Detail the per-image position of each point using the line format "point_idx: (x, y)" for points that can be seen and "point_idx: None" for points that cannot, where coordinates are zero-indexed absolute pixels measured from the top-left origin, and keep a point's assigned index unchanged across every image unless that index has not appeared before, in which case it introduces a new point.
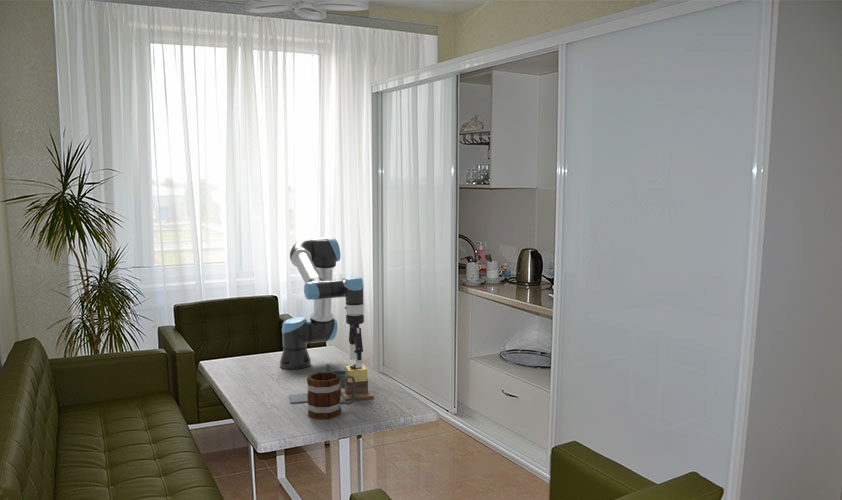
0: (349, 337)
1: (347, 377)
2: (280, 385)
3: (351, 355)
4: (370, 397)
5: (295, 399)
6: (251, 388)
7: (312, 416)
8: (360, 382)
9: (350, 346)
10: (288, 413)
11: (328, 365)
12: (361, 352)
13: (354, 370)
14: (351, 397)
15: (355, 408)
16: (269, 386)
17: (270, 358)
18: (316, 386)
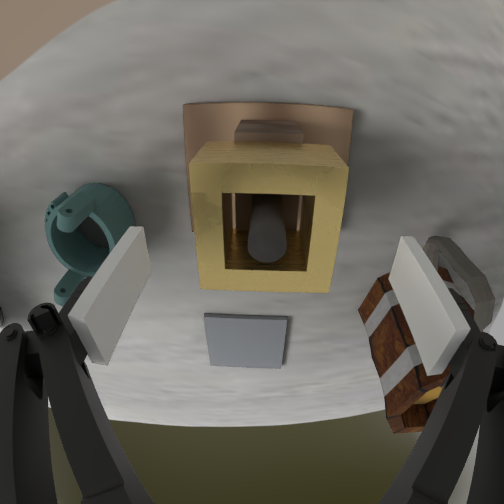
0: (44, 411)
1: (485, 326)
2: (114, 359)
3: (138, 284)
4: (350, 124)
5: (259, 358)
6: (137, 398)
7: None
8: None
9: (111, 351)
10: (352, 370)
11: (65, 298)
12: (465, 329)
13: (335, 257)
14: None
15: (422, 212)
16: (122, 375)
17: None
18: None
